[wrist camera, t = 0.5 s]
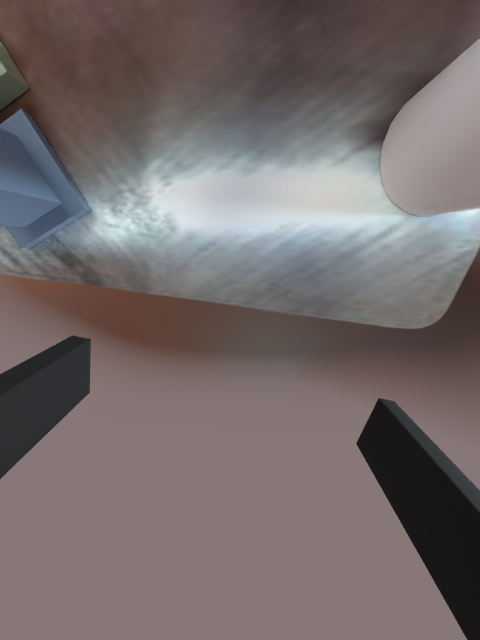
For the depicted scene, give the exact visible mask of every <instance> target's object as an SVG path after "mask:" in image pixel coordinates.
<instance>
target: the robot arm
mask: <svg viewBox="0 0 480 640" xmlns="http://www.w3.org/2000/svg"><path fill="white" fill-rule="evenodd" d="M90 343H91V340H90V339H87V338H82V337H77V336H71V337H69V338H67V339H65V340H63V341H61V342H60V343H58V344H56V345H54V346H52V347H50V348H48V349H47V350H45V351H43V352H41V353H39V354H37V355H35V356H34V357H32V358H30V359H28V360H26V361H24V362H22V363H20V364H19V365H17V366H15V367H13V368H11V369H9V370H8V371H6V372H4V373H2V374H0V479H1V478H2V476H4V475H5V474H6V473H7V472H8V471H9V470H10V469H11V468H12V467H13V466H14V465H15V464H16V463H17V462H18V461H19V460H20V459H21V458H22V457H23V456H24V455H25V454H26V453H28V452H29V451H30V450H31V449H32V448H33V447H34V446H35V445H36V444H37V443H38V442H39V441H40V440H41V439H42V438H43V437H44V436H45V435H46V434H47V433H48V432H49V431H50V430H51V429H52V428H53V427H54V426H55V425H56V424H58V422H60V421H61V420H62V419H63V418H64V417H65V416H66V415H67V414H68V413H69V412H70V411H71V410H72V409H73V408H74V407H75V406H76V405H77V404H78V403H79V402H80V401H81V400H82V399H83V398H84V397H85V396H86V395H88V394H89V392H90V347H91V344H90ZM357 445H358V447H359V449H360V451H361V453H362V454H363V456H364V458H365V460H366V462H367V463H368V465H369V467H370V469H371V470H372V472H373V474H374V475H375V477H376V479H377V481H378V483H379V484H380V486H381V488H382V490H383V492H384V493H385V495H386V497H387V499H388V500H389V502H390V504H391V506H392V507H393V509H394V511H395V513H396V515H397V516H398V518H399V520H400V522H401V523H402V525H403V527H404V529H405V530H406V532H407V534H408V536H409V537H410V539H411V541H412V543H413V545H414V546H415V548H416V550H417V552H418V553H419V555H420V557H421V559H422V560H423V562H424V564H425V566H426V567H427V569H428V571H429V573H430V575H431V576H432V578H433V580H434V582H435V583H436V585H437V587H438V589H439V590H440V592H441V594H442V596H443V597H444V599H445V601H446V603H447V604H448V606H449V608H450V610H451V611H452V613H453V615H454V617H455V619H456V620H457V622H458V624H459V626H460V627H461V629H462V631H463V633H464V635H465V636H466V638H467V640H480V490H479V489H478V488H477V487H476V486H475V485H474V484H473V483H472V482H471V481H470V480H469V479H468V478H467V477H466V476H465V475H464V474H463V472H462V471H461V470H460V469H459V468H458V467H457V466H456V465H455V464H454V463H453V462H452V461H451V460H450V459H449V458H448V457H447V456H446V455H445V454H444V453H443V452H442V451H441V450H440V448H439V447H438V446H437V445H435V443H434V442H433V441H432V440H431V439H430V438H429V437H428V436H427V435H426V434H425V433H424V432H423V431H422V430H421V429H420V428H419V427H418V426H417V425H416V424H415V423H414V422H413V420H412V419H411V418H410V417H409V416H408V415H407V414H406V413H405V412H404V411H403V410H402V409H401V408H400V407H399V406H398V405H397V404H396V403H395V402H394V401H390V400H385V399H380V398H379V399H378V401H377V403H376V405H375V407H374V409H373V411H372V413H371V415H370V417H369V419H368V421H367V423H366V425H365V427H364V429H363V431H362V433H361V435H360V437H359V439H358V441H357Z"/></svg>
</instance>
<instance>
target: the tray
mask: <svg viewBox="0 0 480 640" xmlns="http://www.w3.org/2000/svg"><path fill="white" fill-rule="evenodd" d="M28 89H29V86H28V85H27V83H26V82H25V80H24V78H23V77H22V75H21V73H20V72H19V70H18V69H17V67H16V65H15V64H14V62H13V60H12V59H11V57H10V56H9V54H8V52H7V51H6V49H5V47H4V46H3V44H2V43H1V41H0V110H1V109H3V108H4V107H5V106H7V105H8V104H9V103H11V102H12V101H13V100H15V99H16V98H17V97H19V96H20V95H22V94H23V93H24V92H26V91H27V90H28Z"/></svg>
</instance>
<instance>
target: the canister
mask: <svg viewBox="0 0 480 640" xmlns="http://www.w3.org/2000/svg"><path fill="white" fill-rule="evenodd" d="M380 172H381V178H382V184H383V187H384V189H385V191H386V192H387V194H388V196H389V198H390V200H391V201H392V202H393V203H394V204H395V205H397V206H398V207H399V208H400V209H401V210H403V211H404V212H407V213H410V214H413V215H417V216H436V215H442V214H449V213H455V212H461V211H467V210H473V209H479V208H480V38H479V39H478V40H477V41H476V42H475V43H474V44H473V45H471V46H470V47H469V48H468V49H467V50H466V51H465V52H463V53H462V54H461V55H460V56H459V57H458V58H457V59H455V60H454V61H453V62H452V63H451V64H450V65H449V66H448V67H446V68H445V69H444V70H443V71H442V72H441V73H440V74H438V75H437V76H436V77H435V78H434V79H433V80H432V81H430V82H429V83H428V84H427V85H426V86H425V87H424V88H423V89H421V90H420V91H419V92H418V93H417V94H416V95H415V96H413V97H412V98H411V99H410V100H409V101H408V102H407V103H405V104H404V106H403V107H402V109H401V110H400V111H399V113H398V114H397V116H396V117H395V118H394V120H393V121H392V123H391V124H390V127H389V129H388V132H387V134H386V137H385V139H384V142H383V145H382V151H381V159H380Z"/></svg>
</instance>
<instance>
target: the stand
mask: <svg viewBox="0 0 480 640" xmlns="http://www.w3.org/2000/svg"><path fill="white" fill-rule="evenodd" d="M90 211H91V209H90V207H89V206H88V204H87V203H86V201H85V199H84V198H83V196H82V195H81V193H80V192H79V190H78V188H77V187H76V185H75V184H74V182H73V180H72V179H71V177H70V176H69V174H68V173H67V171H66V169H65V168H64V166H63V165H62V163H61V162H60V160H59V158H58V157H57V155H56V154H55V152H54V150H53V149H52V147H51V146H50V144H49V143H48V141H47V139H46V138H45V136H44V135H43V133H42V131H41V130H40V128H39V127H38V125H37V124H36V122H35V120H34V119H33V117H32V116H31V115H30V114H29V113H27V112H25V111H24V110H22V109H20V110H19V111H17V112H16V113H15V114H13V115H12V116H10V117H9V118H8V119H6V120H5V121H4V122H2V123H1V124H0V225H3V226H5V227H6V229H7V230H8V231H9V233H10V234H11V235H12V237H13V238H14V239H15V241H16V242H17V243H18V245H19V246H20V247H21V248H31V247H33V246H34V245H36V244H38V243H39V242H41V241H42V240H44V239H46V238H47V237H49V236H51V235H52V234H54V233H55V232H57V231H59V230H60V229H62V228H64V227H65V226H67V225H68V224H70V223H72V222H73V221H75V220H77V219H78V218H80V217H81V216H83V215H85V214H86V213H88V212H90Z"/></svg>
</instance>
